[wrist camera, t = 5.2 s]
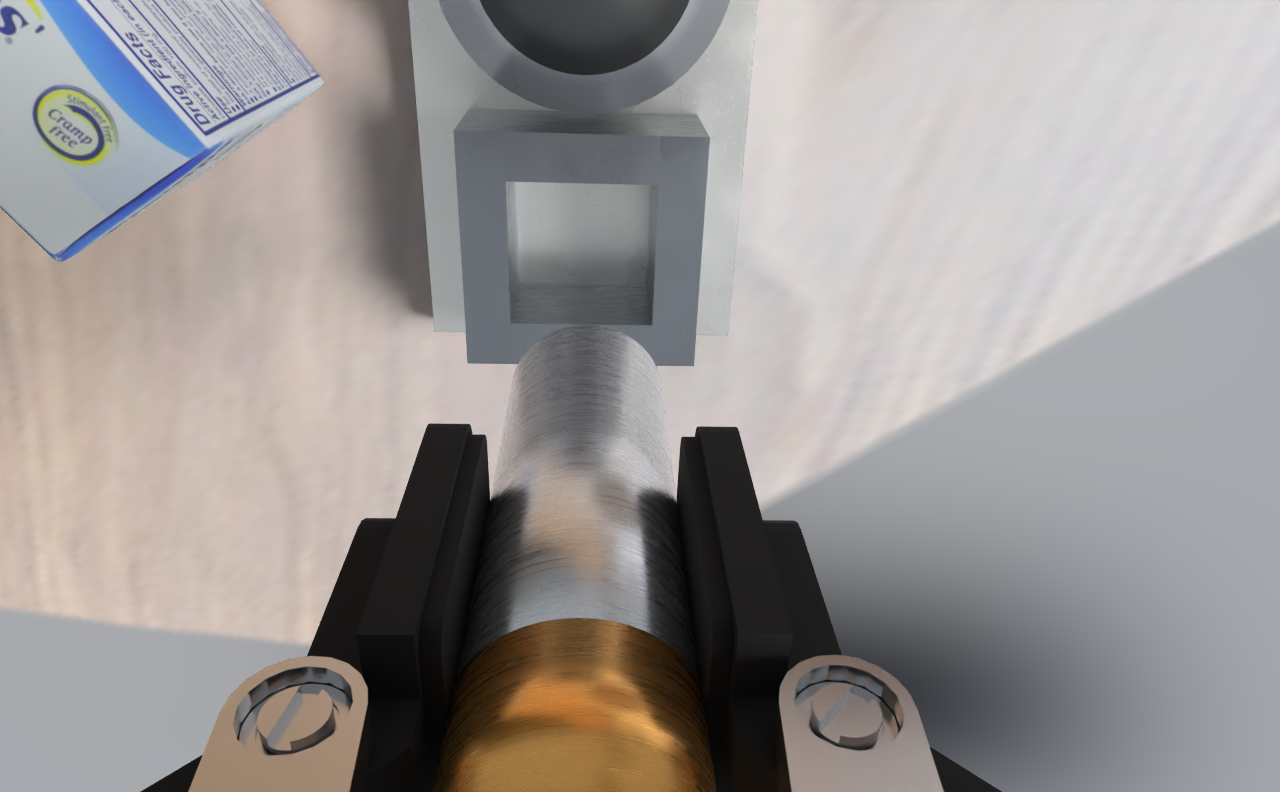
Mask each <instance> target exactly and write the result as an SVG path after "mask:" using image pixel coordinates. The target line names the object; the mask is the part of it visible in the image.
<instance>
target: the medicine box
mask: <svg viewBox="0 0 1280 792" xmlns="http://www.w3.org/2000/svg"><path fill="white" fill-rule="evenodd" d="M323 84H324V80H323V79H322V77H321V76H320V75H319V73H318V72H317V71H316V70H315V68H314V67H313V66H312V65H311V64H310V62H309V61H308V60H307V59H306V57H305V56H304V55H303V54H302V52H301V51H300V50H299V49H298V47H297V46H296V45H295V44H294V42H293V41H292V40H291V39H290V37H289V36H288V35H287V34H286V32H285V31H284V30H283V29H282V27H281V26H280V25H279V24H278V22H277V21H276V20H275V19H274V17H273V16H272V15H271V14H270V12H269V11H268V10H267V9H266V7H265V6H264V5H263V3H262V2H261V1H260V0H0V207H1V208H2V209H3V210H4V211H5V212H6V213H7V214H8V215H9V216H10V217H11V218H12V219H13V220H14V221H15V222H16V223H17V224H18V225H19V226H20V227H21V228H22V229H23V230H24V231H25V232H26V233H27V234H28V235H30V236H31V237H32V238H33V239H34V240H35V241H36V242H37V243H38V244H39V245H40V246H41V247H42V248H43V249H44V250H45V251H46V252H47V253H48V254H49V255H50V256H51V257H52V258H54V259H55V260H57V261H64V260H66V259H68V258H70V257H72V256H73V255H75V254H76V253H78V252H80V251H81V250H83V249H85V248H86V247H88V246H89V245H91V244H92V243H94V242H96V241H97V240H99V239H101V238H102V237H104V236H106V235H108V234H109V233H111V232H112V231H114V230H115V229H117V228H118V227H120V226H121V225H123V224H124V223H126V222H128V221H129V220H131V219H132V218H134V217H136V216H137V215H139V214H140V213H142V212H143V211H145V210H147V209H148V208H150V207H151V206H153V205H154V204H156V203H157V202H159V201H160V200H162V199H163V198H165V197H167V196H168V195H170V194H172V193H173V192H175V191H176V190H178V189H179V188H181V187H182V186H184V185H186V184H187V183H189V182H191V181H192V180H194V179H195V178H197V177H199V176H200V175H202V174H203V173H205V172H206V171H208V170H209V169H210V168H212V167H213V166H214V165H216V164H217V163H218V162H220V161H221V160H222V159H224V158H225V157H226V156H228V155H229V154H230V153H232V152H233V151H235V150H236V149H237V148H239V147H240V146H241V145H243V144H244V143H246V142H247V141H248V140H250V139H251V138H253V137H254V136H255V135H257V134H258V133H259V132H261V131H262V130H264V129H265V128H266V127H268V126H269V125H270V124H272V123H273V122H275V121H276V120H277V119H279V118H280V117H281V116H283V115H284V114H285V113H287V112H288V111H290V110H291V109H292V108H294V107H295V106H296V105H298V104H299V103H300V102H302V101H303V100H304V99H306V98H307V97H309V96H310V95H311V94H313V93H314V92H315V91H317V90H318V89H319V88H321V87H322V86H323Z"/></svg>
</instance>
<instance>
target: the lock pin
mask: <svg viewBox="0 0 1280 792" xmlns="http://www.w3.org/2000/svg"><path fill="white" fill-rule="evenodd" d="M433 792H717V790H716V782H715V775H714V767H713V760H712V752H711V745H710V737H709V731H708V725H707V720H706V717H705V709H704V702H703V694H702V687H701V684H700V680H699V672H698V664H697V657H696V649H695V641H694V634H693V626H692V618H691V610H690V603H689V595H688V587H687V580H686V572H685V564H684V556H683V549H682V541H681V533H680V526H679V518H678V510H677V500H676V492H675V484H674V477H673V469H672V461H671V454H670V446H669V438H668V431H667V423H666V415H665V408H664V400H663V392H662V385H661V379H660V375H659V372H658V369H657V367H656V365H655V363H654V361H653V359H652V358H651V356H650V355H649V354H648V352H647V351H646V350H645V349H644V348H643V347H642V346H641V345H640V344H639V343H637V342H636V341H635V340H634V339H632V338H630V337H629V336H627V335H626V334H623V333H621V332H619V331H617V330H614V329H611V328H608V327H603V326H597V325H576V326H570V327H565V328H562V329H559V330H556V331H554V332H551V333H549V334H547V335H546V336H544V337H542V338H541V339H539V340H538V341H537V342H535V343H534V344H533V345H532V346H531V347H530V348H529V349H528V350H527V351H526V352H525V354H524V355H523V357H522V358H521V360H520V362H519V363H518V365H517V368H516V370H515V373H514V377H513V382H512V387H511V393H510V398H509V403H508V409H507V414H506V419H505V425H504V430H503V435H502V441H501V446H500V451H499V457H498V462H497V467H496V473H495V478H494V483H493V488H492V494H491V499H490V505H489V510H488V515H487V520H486V526H485V531H484V536H483V542H482V547H481V552H480V558H479V563H478V568H477V574H476V579H475V584H474V590H473V595H472V600H471V606H470V611H469V616H468V621H467V627H466V632H465V637H464V643H463V648H462V653H461V659H460V664H459V669H458V675H457V680H456V683H455V686H454V688H453V694H452V699H451V704H450V709H449V715H448V720H447V722H446V727H445V732H444V738H443V743H442V748H441V753H440V759H439V764H438V769H437V774H436V780H435V785H434V790H433Z"/></svg>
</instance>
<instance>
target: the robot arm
mask: <svg viewBox="0 0 1280 792" xmlns="http://www.w3.org/2000/svg"><path fill="white" fill-rule="evenodd" d="M489 505H490V490H489V472H488V454H487V440H486V436H485V435H472V429H471V426H470V424H428V426H427V428H426V431H425V434H424V437H423V440H422V443H421V445H420V448H419V451H418V454H417V457H416V460H415V463H414V466H413V469H412V472H411V475H410V478H409V481H408V484H407V487H406V490H405V493H404V496H403V499H402V502H401V505H400V508H399V511H398V513H397V516H396V518H365V519H364V520H362V521H361V523H360V525H359V527H358V529H357V531H356V534H355V536H354V539H353V541H352V544H351V546H350V549H349V551H348V554H347V556H346V559H345V561H344V564H343V567H342V569H341V572H340V574H339V577H338V579H337V582H336V584H335V587H334V589H333V592H332V594H331V597H330V599H329V602H328V604H327V607H326V610H325V612H324V615H323V617H322V620H321V622H320V625H319V627H318V630H317V632H316V635H315V637H314V640H313V642H312V645H311V647H310V650H309V653H308V655H307V656H306V657H301V658H294V659H288V660H285V661H283V662H280V663H277V664H274V665H271V666H269V667H266V668H264V669H263V670H261V671H259V672H258V673H256V674H254V675H253V676H251V677H250V678H248V679H246V680H245V681H244V682H243V683H242V684H241V685H240V686H239V687H238V688H237V689H236V690H235V691H234V692H233V693H232V694H231V695H230V696H229V698H228V699H227V701H226V703H225V705H224V706H223V708H222V709H221V711H220V713H219V715H218V718H217V721H216V723H215V725H214V728H213V730H212V733H211V735H210V738H209V741H208V743H207V746H206V749H205V751H204V753H203V755H202V756H200V757H198V758H196V759H195V760H193V761H191V762H190V763H188V764H186V765H185V766H183V767H181V768H180V769H178V770H176V771H175V772H173V773H171V774H170V775H168V776H166V777H164V778H163V779H161V780H159V781H158V782H156V783H154V784H153V785H151V786H149V787H148V788H146V789H144V790H143V791H141V792H433V790H434V785H435V780H436V774H437V769H438V764H439V759H440V753H441V748H442V743H443V738H444V732H445V727H446V722H447V720H448V715H449V709H450V704H451V699H452V694H453V688H454V686H455V683H456V680H457V675H458V669H459V664H460V659H461V653H462V648H463V643H464V637H465V632H466V627H467V621H468V616H469V611H470V606H471V600H472V595H473V590H474V584H475V579H476V574H477V568H478V563H479V558H480V552H481V547H482V542H483V536H484V531H485V526H486V520H487V515H488V510H489ZM677 510H678V518H679V526H680V533H681V541H682V549H683V556H684V564H685V572H686V580H687V587H688V595H689V603H690V610H691V618H692V626H693V634H694V641H695V649H696V657H697V664H698V672H699V680H700V684H701V687H702V694H703V702H704V709H705V717H706V720H707V725H708V731H709V737H710V745H711V752H712V760H713V767H714V775H715V782H716V790H717V792H1001V791H1000V790H998V789H996V788H995V787H993V786H991V785H990V784H988V783H987V782H985V781H984V780H982V779H980V778H979V777H977V776H976V775H974V774H972V773H971V772H969V771H967V770H966V769H965V768H963V767H961V766H960V765H958V764H956V763H955V762H953V761H952V760H950V759H949V758H947V757H945V756H944V755H942V754H941V753H939V752H937V751H936V750H934V749H933V748H931V747H929V744H928V741H927V738H926V735H925V732H924V728H923V725H922V722H921V719H920V716H919V713H918V710H917V707H916V705H915V703H914V701H913V700H912V698H911V696H910V694H909V692H908V691H907V690H906V689H905V688H904V687H903V685H902V684H900V682H899V681H898V680H897V679H896V678H895V677H894V676H892V675H890V674H889V673H887V672H886V671H884V670H883V669H881V668H880V667H878V666H876V665H874V664H871V663H869V662H866V661H864V660H861V659H858V658H854V657H848V656H842V654H841V651H840V648H839V645H838V642H837V639H836V636H835V633H834V630H833V627H832V624H831V621H830V618H829V614H828V612H827V608H826V605H825V602H824V599H823V596H822V593H821V590H820V587H819V584H818V581H817V578H816V575H815V572H814V568H813V565H812V562H811V559H810V557H809V553H808V550H807V547H806V544H805V541H804V538H803V535H802V532H801V529H800V527H799V525H798V523H797V522H796V521H766V520H765V521H764V520H762V516H761V513H760V509H759V505H758V501H757V498H756V494H755V490H754V486H753V483H752V479H751V475H750V471H749V468H748V464H747V460H746V456H745V453H744V449H743V445H742V442H741V438H740V434H739V431H738V428H737V427H697V429H696V433H695V437H682V438H681V445H680V458H679V473H678V487H677Z"/></svg>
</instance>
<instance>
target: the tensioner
mask: <svg viewBox="0 0 1280 792" xmlns="http://www.w3.org/2000/svg"><path fill="white" fill-rule="evenodd" d="M408 6H409V18H410V31H411V43H412V56H413V69H414V81H415V94H416V106H417V119H418V131H419V144H420V157H421V169H422V182H423V194H424V207H425V220H426V232H427V245H428V257H429V270H430V283H431V295H432V308H433V320H434V332H466V343H467V360H468V363H484V364H518V363H519V362H520V360H521V358H522V357H523V355H524V354H525V352H526V351H527V350H528V349H529V348H530V347H531V346H532V345H533V344H534V343H535V342H537V341H538V340H539V339H541V338H542V337H544V336H546V335H547V334H549V333H551V332H554V331H556V330H559V329H562V328H565V327H570V326H576V325H597V326H603V327H608V328H611V329H614V330H617V331H619V332H621V333H623V334H626V335H627V336H629V337H630V338H632V339H634V340H635V341H636V342H637V343H639V344H640V345H641V346H642V347H643V348H644V349H645V350H646V351H647V352H648V354H649V355H650V356H651V358H652V359H653V361H654V363H655V365H656V366H694V355H695V341H696V335H702V336H728V331H729V320H730V309H731V298H732V287H733V276H734V264H735V253H736V242H737V231H738V220H739V209H740V198H741V187H742V176H743V165H744V153H745V142H746V131H747V120H748V109H749V98H750V87H751V76H752V65H753V54H754V42H755V31H756V20H757V9H758V0H408Z"/></svg>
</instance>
